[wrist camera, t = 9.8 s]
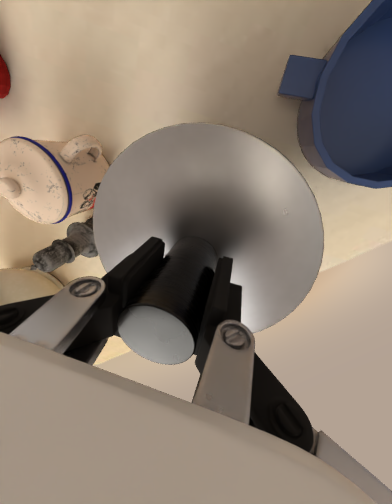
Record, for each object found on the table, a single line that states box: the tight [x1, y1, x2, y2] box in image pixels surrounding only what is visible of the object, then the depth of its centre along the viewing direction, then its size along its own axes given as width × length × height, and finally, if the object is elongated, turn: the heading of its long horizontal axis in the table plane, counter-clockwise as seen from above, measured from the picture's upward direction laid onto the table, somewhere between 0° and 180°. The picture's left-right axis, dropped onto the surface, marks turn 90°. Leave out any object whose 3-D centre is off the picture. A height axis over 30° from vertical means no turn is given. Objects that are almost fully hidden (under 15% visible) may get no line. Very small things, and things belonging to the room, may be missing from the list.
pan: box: [277, 0, 392, 189], centre depth 16 cm, size 13×19×6 cm
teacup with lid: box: [0, 135, 110, 224], centre depth 23 cm, size 12×9×12 cm
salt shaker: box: [30, 218, 98, 272], centre depth 28 cm, size 6×6×12 cm
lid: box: [93, 123, 324, 365], centre depth 10 cm, size 14×14×7 cm
